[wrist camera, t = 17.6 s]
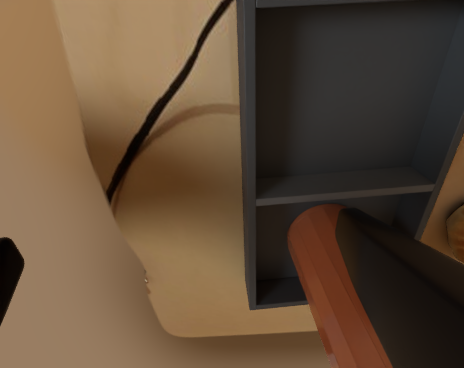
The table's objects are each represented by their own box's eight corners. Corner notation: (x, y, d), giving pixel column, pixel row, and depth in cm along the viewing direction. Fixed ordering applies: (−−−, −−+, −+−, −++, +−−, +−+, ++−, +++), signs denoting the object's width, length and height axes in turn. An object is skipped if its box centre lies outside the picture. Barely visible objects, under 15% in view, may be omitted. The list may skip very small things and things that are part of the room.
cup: (271, 237, 25) (325, 416, 14) (329, 189, 23) (449, 356, 11) (316, 268, 27) (391, 440, 16) (371, 228, 25) (502, 395, 14)
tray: (245, 280, 28) (249, 310, 25) (236, -2, 16) (243, -6, 13) (378, 267, 29) (397, 295, 26) (470, -14, 16) (526, -21, 14)
